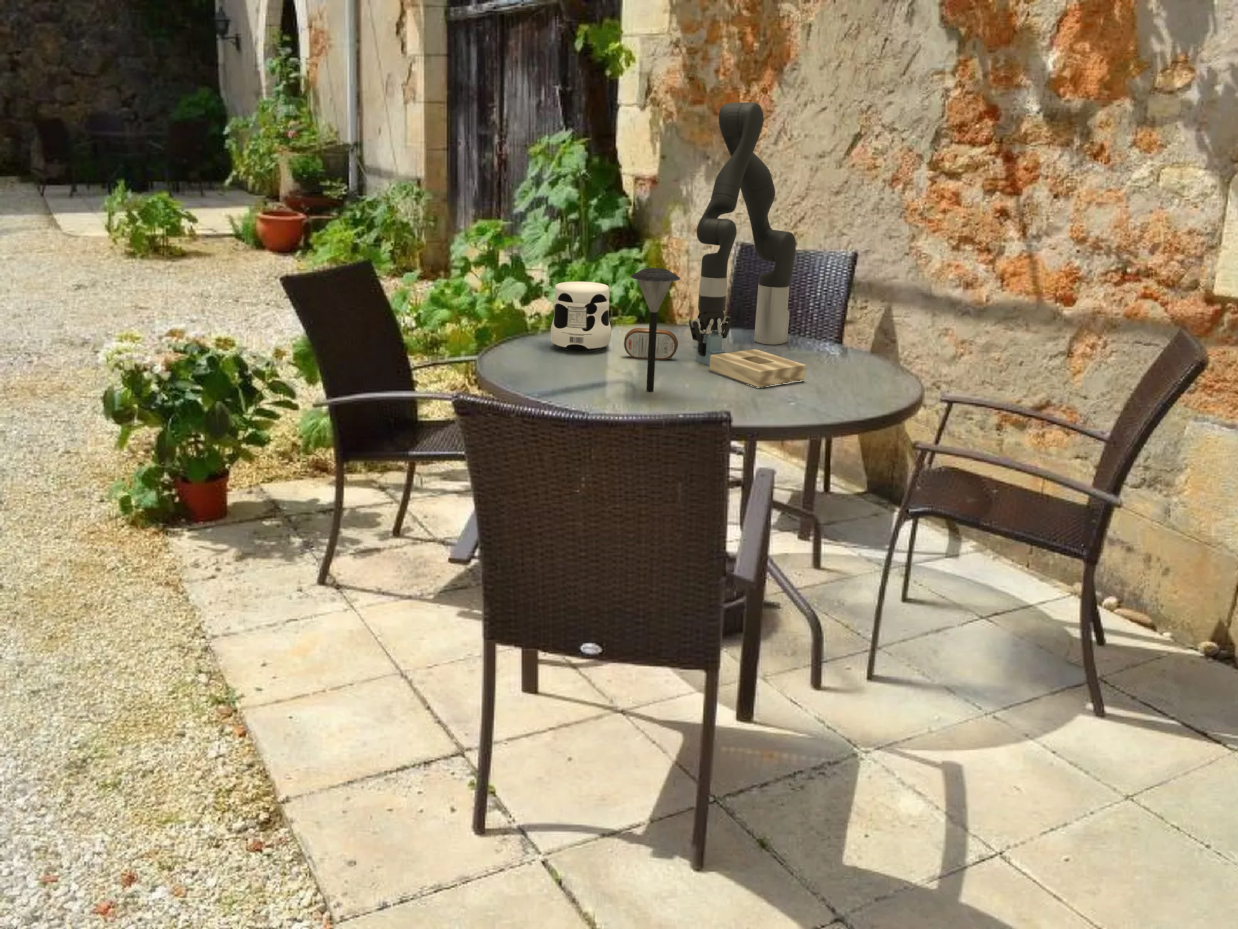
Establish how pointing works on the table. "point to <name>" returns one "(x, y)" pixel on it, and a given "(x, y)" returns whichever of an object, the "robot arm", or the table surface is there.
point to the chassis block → (756, 368)
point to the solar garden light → (653, 308)
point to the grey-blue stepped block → (710, 348)
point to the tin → (639, 341)
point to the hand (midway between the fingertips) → (708, 354)
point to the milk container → (581, 316)
